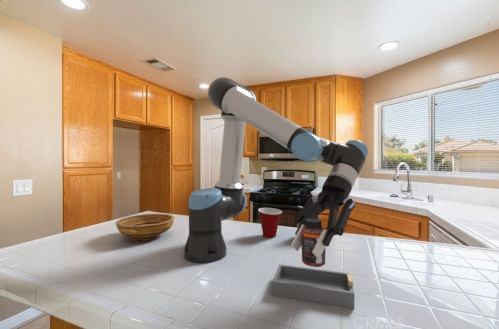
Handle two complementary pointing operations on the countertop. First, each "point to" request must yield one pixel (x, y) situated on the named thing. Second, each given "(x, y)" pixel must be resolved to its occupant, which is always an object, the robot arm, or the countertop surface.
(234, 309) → the countertop surface
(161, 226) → the brown woven oval bowl
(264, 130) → the robot arm
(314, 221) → the supplement bottle
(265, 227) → the plastic cup
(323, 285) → the trough
